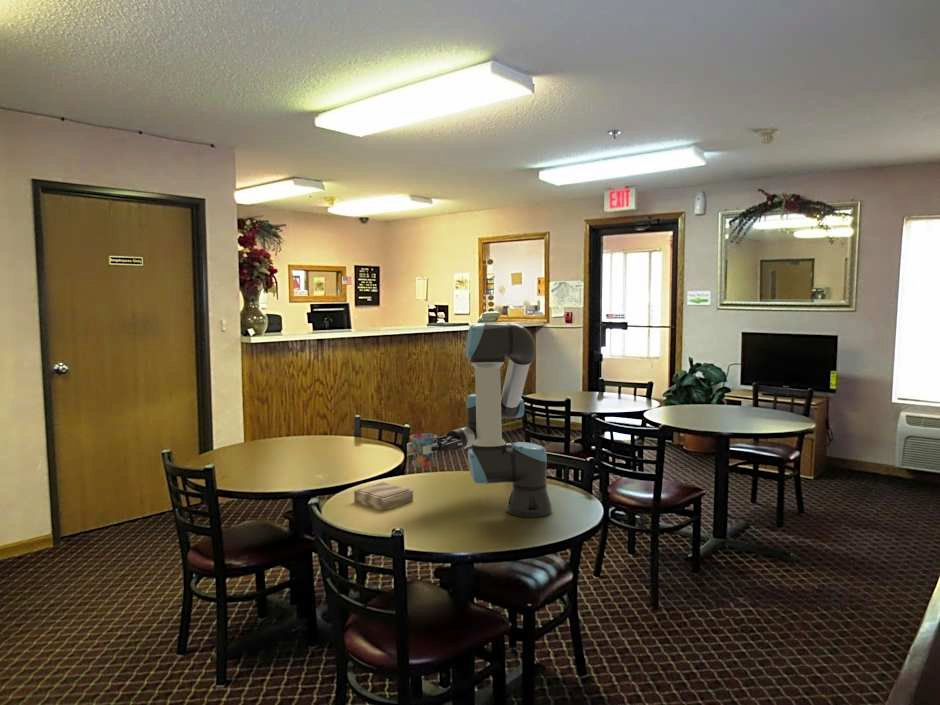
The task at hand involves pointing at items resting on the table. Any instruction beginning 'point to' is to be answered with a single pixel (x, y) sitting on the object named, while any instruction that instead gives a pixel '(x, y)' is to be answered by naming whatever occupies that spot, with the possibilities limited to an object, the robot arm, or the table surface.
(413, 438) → the mug
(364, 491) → the block
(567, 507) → the table surface
